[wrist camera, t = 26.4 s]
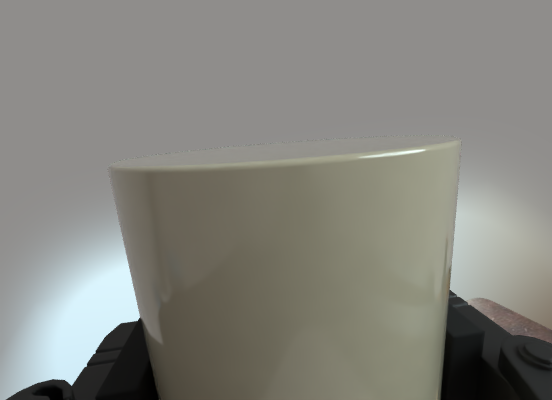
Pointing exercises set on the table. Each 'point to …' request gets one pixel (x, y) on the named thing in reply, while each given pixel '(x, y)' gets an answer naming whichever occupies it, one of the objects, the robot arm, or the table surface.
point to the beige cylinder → (293, 266)
